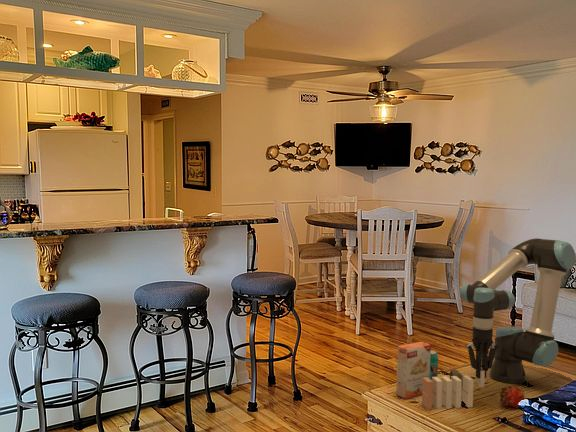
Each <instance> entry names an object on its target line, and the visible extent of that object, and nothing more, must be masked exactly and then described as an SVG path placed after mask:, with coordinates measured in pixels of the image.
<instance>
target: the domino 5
mask: <svg viewBox="0 0 576 432" xmlns="http://www.w3.org/2000/svg"><path fill="white" fill-rule="evenodd" d="M474 381H475V380H474V379H473V378H472V377H470V376H469V375H468V374H467V375H465V374H464V375H463V387H462V388H461V402H462V401H463V402H464V403H465V404H466V405H465V406H466V407H467V408H473V407H474Z"/></svg>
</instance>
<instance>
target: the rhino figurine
mask: <svg viewBox="0 0 576 432" xmlns="http://www.w3.org/2000/svg"><path fill="white" fill-rule="evenodd" d="M449 376H450V377H449V379H450V380H451V376H457V377H458V378H459V379H461V380H462V387H463V376H464V375H463V374H462V373H461V372H460V371H459V370H457V369H455V368H453V369H451V370H450V371H449Z"/></svg>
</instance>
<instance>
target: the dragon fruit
mask: <svg viewBox="0 0 576 432" xmlns="http://www.w3.org/2000/svg"><path fill="white" fill-rule="evenodd" d="M499 397H500V398H499V401H500V402H502V404H503V405H504V406H505V407H507V408H510V407H513V408H516V409H518V408H519V406H518V403H519V402H520V401H521V400H524V399H525V395H524V391H523V389H520V388H519V387H517V386H514V387H513V386H507V387H506V386H505V387H502V388H501V390H500V391H499ZM524 401H525V400H524Z"/></svg>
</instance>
